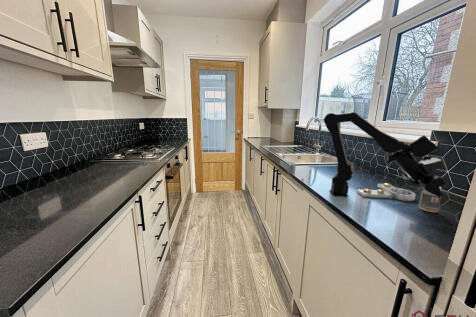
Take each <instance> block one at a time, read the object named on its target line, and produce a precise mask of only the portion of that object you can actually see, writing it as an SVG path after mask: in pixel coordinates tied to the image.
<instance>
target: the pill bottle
mask: <svg viewBox="0 0 476 317" xmlns="http://www.w3.org/2000/svg"><path fill="white" fill-rule="evenodd" d="M439 188H440V190H441V191H442V186H440V187H439ZM441 198H442V196H441V197H438V196H436V195H434V194H432V193H430V192H428V191H426V190H424V189H422V191H421V194H420V198H419V202H418V208H419V209H420V210H422V211H425V212H428V213H429V212H430V213H438V211H439V208H440V203H441V200H442V199H441Z"/></svg>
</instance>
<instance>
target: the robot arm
mask: <svg viewBox="0 0 476 317" xmlns="http://www.w3.org/2000/svg"><path fill="white" fill-rule="evenodd" d="M346 122H347V123H349V122H350V123H352V124H354V125H355V126H356V127H357V128H359V129H360V130H362V131H363V132H364V133H366V134H367V135H368V136H369V137H371V138H372V139H373V140H374V141H375V143H377V144H378V145H379V147H381V149H382V150H383V151H384V152H385V153H388V154H387V155H386V156H387V157H386V161H387V163H388V164H389V163H392V162H393V161H394V163H395V164H397V166H398V167H399V169H400V170H401V173H400V174H401V176H402V177H403V178H405V179H406V180H407V179H408V180H407V181H409V182H410V183H413V184H415V185H417V186H419V187H420V188H421V189H422V190H426V191H428V192H430V193H432V194H434V195H436V196H438V197H441V198H442V197H443V194H442V189H441V190H440V188H439V187H442V186H443V185H446V184H447V181H446V179H445V178H444V177H441V176H439V175H437V174H432V173H433V172H432V171H436V170H439V169H440V170H443V169H444V168H445V165H444V162H443V160H442V159H440V158H438V157H430V156H429V155H430V154H433V153H435V152H436V151H438V150H439V147H438V146H437V144H435V143H434V142H433V141H432V140H430V139H429V138H428V137H427V136H426V135H425V134H424V135H422V136H420V137H418V138H417V139H416V140H413V141H412V142H410V143H407V142H404V141H403V142H402V141H399V140H398V138H396V137H395V136H391V135H390V134H387V133H386V132H383V131H381V130H380V129H379V128H377V127H375V125H373V124H371V122H369V121H367V120H366V119H364V118H363V117H362V116H360V115H359V114H358V113H357V112H355V111H354V112H350V113H341V114H338V113H335V112H334V113H333V112H331V113H327V114H326V115H325V116H324V118H323V123H324V124H325V127H326V129H327V130H328V132H329V134H330V136H331V137H330V138H331V141H332V145H333V149H334V153H335V156H336V161H337V173H336V174H335V175H333V176H332V178H331V187H330V189H329V192H330V193H331V194H332V195H333V196H335V197H349V189H350V188H349V187H350V186H349V181H351V179H352V177H353V176H354V174H355V171H356V169H355V168H354V163H353V162H351V163H350V161H348V157H347V154H346V148H345V145H344V142H343V137H342V134H341V123H346ZM390 153H391V154H390ZM414 156H415V157H416V158H421V159H420V161H418V160H417V159H416V158H415V157H414ZM430 174H431V175H430Z"/></svg>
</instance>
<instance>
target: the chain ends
mask: <svg viewBox="0 0 476 317" xmlns="http://www.w3.org/2000/svg"><path fill="white" fill-rule="evenodd" d="M376 187H377V189H370V188H363V189H359V188H358V189H357V191H356V193H358V194H359V195H360V196H361V197H362V198H376V199H377V198H378V199H396V200H400V201H405V202H413V201H415V199H416V193H415V192H413V191H412V190H409V189H405V188H399V187H396V186H393V185H392V184H391V183H390V182H389V183H388V182H387V183H386V182H383V183H377V186H376Z"/></svg>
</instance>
